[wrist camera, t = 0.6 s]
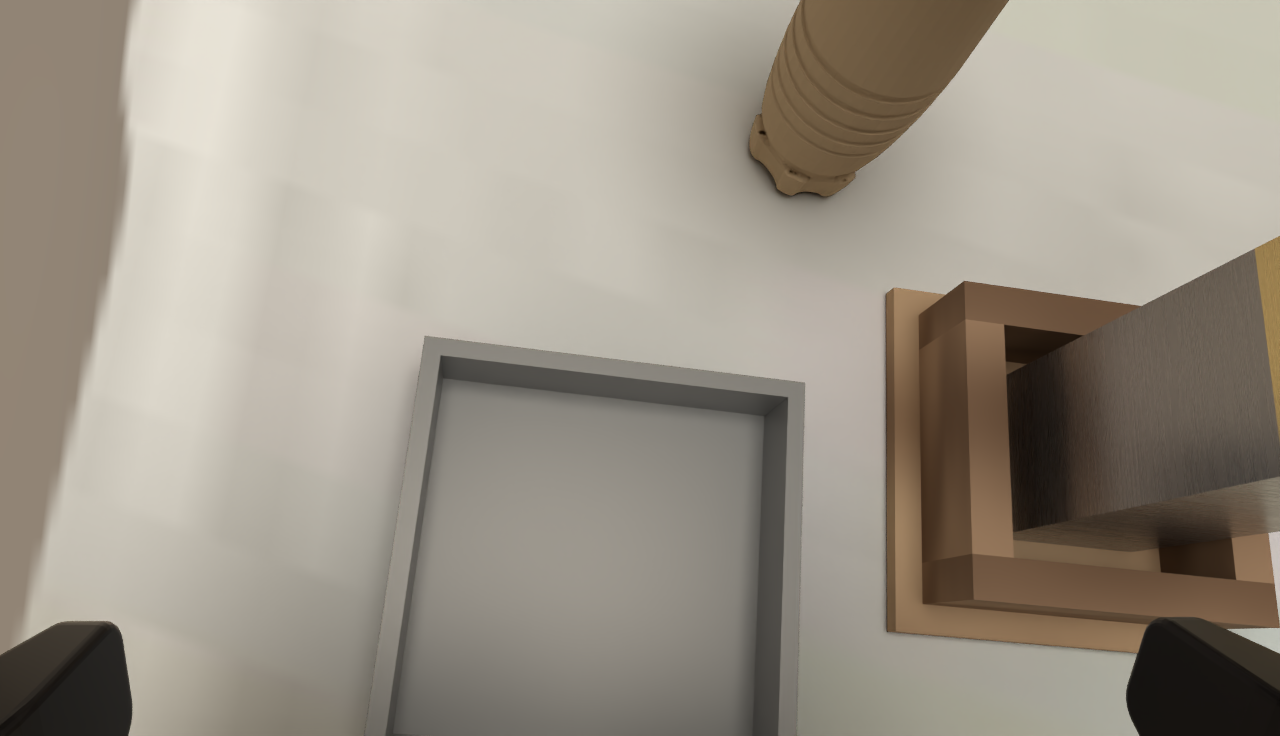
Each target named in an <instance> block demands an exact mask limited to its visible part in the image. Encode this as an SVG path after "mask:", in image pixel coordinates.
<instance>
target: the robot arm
mask: <svg viewBox="0 0 1280 736" xmlns="http://www.w3.org/2000/svg"><path fill="white" fill-rule="evenodd" d="M1126 701H1127V708H1128V711H1129V715H1130V717H1131V720H1132V722H1133V724H1134V726H1135V728H1136V730H1137V732H1138V734H1139V736H1280V654H1279V653H1277V652H1275V651H1272V650H1270V649H1268V648H1266V647H1264V646H1262V645H1259V644H1257V643H1255V642H1253V641H1251V640H1248V639H1246V638H1244V637H1242V636H1240V635H1238V634H1235V633H1233V632H1231V631H1229V630H1227V629H1224V628H1222V627H1220V626H1218V625H1216V624H1214V623H1211V622H1209V621H1207V620H1204V619H1202V618H1197V617H1159V618H1157V619H1154V620H1152V621H1151V622H1150V623H1149V625H1148V626H1147V627H1146V629H1145V631H1144V634H1143V637H1142V641H1141V644H1140V647H1139V650H1138V653H1137V656H1136V660H1135V663H1134V666H1133V669H1132V672H1131V676H1130V679H1129V682H1128V685H1127V690H1126ZM131 720H132V698H131V691H130V685H129V678H128V671H127V665H126V658H125V651H124V645H123V639H122V635H121V632H120V630H119V628H118V627H117V626H116V625H114V624H113V623H111V622H109V621H66V622H61V623H57V624H55V625H53V626H51V627H50V628H48V629H46V630H44V631H42V632H41V633H39V634H37V635H35V636H33V637H32V638H30V639H28V640H26V641H25V642H23V643H21V644H19V645H17V646H16V647H14V648H12V649H10V650H9V651H7V652H5V653H3V654H1V655H0V736H128V734H129V730H130V726H131Z"/></svg>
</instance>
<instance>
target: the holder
mask: <svg viewBox="0 0 1280 736" xmlns="http://www.w3.org/2000/svg"><path fill="white" fill-rule="evenodd" d="M1139 307H1141V306H1137V305H1130V304H1123V303H1116V302H1109V301H1102V300H1095V299H1088V298H1081V297H1073V296H1066V295H1059V294H1052V293H1045V292H1038V291H1031V290H1024V289H1017V288H1010V287H1003V286H996V285H989V284H982V283H975V282H968V281H964V282H962V283H961V284H960V285H958V286H957V287H956V288H954V289H953V290H952V291H950V292H949V293H948V294H946V295H943V294H936V293H929V292H922V291H915V290H908V289H901V288H893V289H892V290H890V291H889V292H888V293H887V294H886V384H887V632H898V633H910V634H921V635H933V636H944V637H956V638H968V639H979V640H991V641H1002V642H1014V643H1026V644H1037V645H1049V646H1061V647H1072V648H1084V649H1095V650H1107V651H1119V652H1130V653H1138V650H1139V647H1140V644H1141V641H1142V637H1143V634H1144V631H1145V629H1146V627H1147V626H1148V625H1149V623H1150V622H1151V621H1152V620H1154V619H1157V618H1159V617H1197V618H1202V619H1204V620H1207V621H1209V622H1211V623H1214V624H1216V625H1218V626H1220V627H1222V628H1224V629H1244V628H1280V625H1279V617H1278V609H1277V600H1276V592H1275V584H1274V576H1273V568H1272V560H1271V552H1270V543H1269V535H1268V533H1264V534H1257V535H1249V536H1242V537H1235V538H1228V539H1221V540H1214V541H1207V542H1200V543H1193V544H1186V545H1179V546H1172V547H1164V548H1157V549H1150V550H1143V551H1136V552H1125V551H1115V550H1105V549H1096V548H1086V547H1076V546H1066V545H1056V544H1047V543H1037V542H1027V541H1017V540H1013V525H1012V502H1011V478H1010V454H1009V431H1008V407H1007V384H1006V375H1007V374H1009V373H1011V372H1013V371H1015V370H1017V369H1019V368H1021V367H1023V366H1025V365H1027V364H1029V363H1031V362H1033V361H1035V360H1037V359H1039V358H1041V357H1043V356H1044V355H1046V354H1048V353H1050V352H1052V351H1054V350H1056V349H1058V348H1060V347H1062V346H1064V345H1066V344H1068V343H1070V342H1072V341H1074V340H1076V339H1078V338H1080V337H1082V336H1084V335H1086V334H1088V333H1090V332H1092V331H1094V330H1096V329H1098V328H1100V327H1102V326H1104V325H1106V324H1107V323H1109V322H1111V321H1113V320H1115V319H1117V318H1119V317H1121V316H1123V315H1125V314H1127V313H1129V312H1131V311H1133V310H1135V309H1137V308H1139Z"/></svg>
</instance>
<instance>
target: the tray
mask: <svg viewBox="0 0 1280 736" xmlns="http://www.w3.org/2000/svg"><path fill="white" fill-rule="evenodd" d="M804 407H805V383H803V382H795V381H787V380H779V379H771V378H763V377H754V376H746V375H738V374H730V373H722V372H714V371H706V370H698V369H690V368H681V367H673V366H665V365H657V364H649V363H641V362H633V361H625V360H617V359H608V358H600V357H592V356H584V355H576V354H568V353H560V352H552V351H543V350H535V349H527V348H519V347H511V346H503V345H495V344H487V343H479V342H470V341H462V340H454V339H446V338H438V337H430V336H425V338H424V345H423V351H422V358H421V364H420V371H419V378H418V384H417V391H416V397H415V404H414V410H413V417H412V424H411V430H410V437H409V443H408V450H407V457H406V463H405V470H404V476H403V483H402V489H401V496H400V503H399V509H398V516H397V522H396V529H395V536H394V542H393V549H392V555H391V562H390V568H389V575H388V582H387V588H386V595H385V601H384V608H383V615H382V621H381V628H380V634H379V641H378V647H377V654H376V661H375V667H374V674H373V680H372V687H371V694H370V700H369V707H368V713H367V720H366V726H365V733H364V736H797V698H798V656H799V615H800V573H801V532H802V490H803V449H804Z"/></svg>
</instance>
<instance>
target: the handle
mask: <svg viewBox="0 0 1280 736" xmlns="http://www.w3.org/2000/svg"><path fill="white" fill-rule="evenodd" d="M1008 1H1009V0H800V3H799V5H798V7H797V9H796V11H795V13H794V15H793V17H792V19H791V22H790V24H789V25H788V28H787V30H786V33H785V35H784V38H783V41H782V43H781V45H780V48H779V50H778V53H777V56H776V58H775V61H774V63H773V66H772V69H771V72H770V75H769V78H768V81H767V85H766V89H765V94H764V98H763V103H762V113H761V114H760V115H756V118H755V121H754V123H753V126H752V130H751V134H750V140H749V147H750V152H751V154H752V156H753V157H754V158H755V159H756V160H759V161H760V162H761V163H763V164H764V165H765V167H766V168H767V169H768V170H769V171H770V173H771V175H772V176H773V178H774V180H775V182H776V188H777V189H778V190H780V191H781V192H783V193H785V194H788V195H790V196H791V195H794V194H796V193H798V192H804V191H808V192H815V193H818V194H820V195H821V196H827V197H828V196H830V195H833V194H835V193H836V192H838V191H840V190H841V189H843V188H844V187H846V186H847V185H848V184H849V183H850V182H851V181H852V180H853V179H854V178H855V171H857V170H859V169H860V168H862V167H863V166H865V165H866V164H868V163H869V162H870V161H872V160H873V159H875V158H876V157H878V156H879V155H880V154H881V153H882V152H883V151H885V150H886V149H887V148H888V147H889V146H890V145H892V144H893V143H894V142H895V141H896V140H897V139H898V138H899V137H900V136H901V135H902V134H903V133H904V132H905V131H906V130H907V129H908V128H909V127H910V126H911V125H912V124H913V123H914V122H915V121H916V120H917V119H918V118H919V117H920V116H921V115H922V114H923V113H924V112H925V111H926V110H927V108H928V107H929V106H930V105H931V104H932V103H933V101H934V100H935V99H936V98H937V96H939V94H940V93H941V92H942V91H943V90H944V89H945V87H946V86H947V85H948V84H949V82H950V81H951V80H952V79H953V78H954V76H955V75H956V74H957V72H958V71H959V70H960V68H961V67H962V66H963V64H964V63H965V61H966V60H967V59H968V57H969V56H970V54H971V53H972V52H973V50H974V49H975V47H976V46H977V44H978V43H979V42H980V40H981V39H982V37H983V36H984V35H985V33H986V32H987V30H988V29H989V28H990V26H991V25H992V23H993V22H994V21H995V19H996V18H997V16H998V15H999V14H1000V12H1001V11H1002V9H1003V8H1004V7H1005V5H1006V4H1007V2H1008Z"/></svg>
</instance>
